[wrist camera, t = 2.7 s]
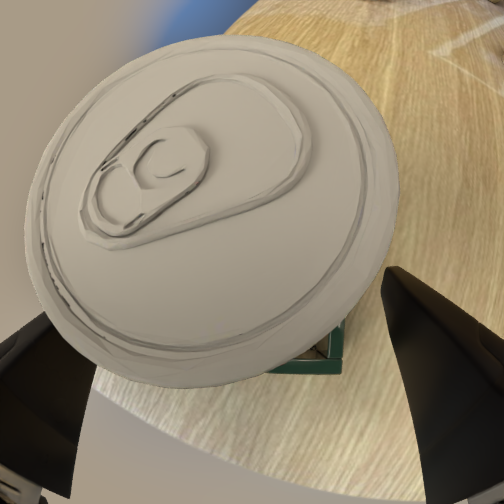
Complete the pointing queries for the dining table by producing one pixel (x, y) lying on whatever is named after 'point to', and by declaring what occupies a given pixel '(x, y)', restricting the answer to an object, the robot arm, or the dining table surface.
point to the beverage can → (211, 211)
